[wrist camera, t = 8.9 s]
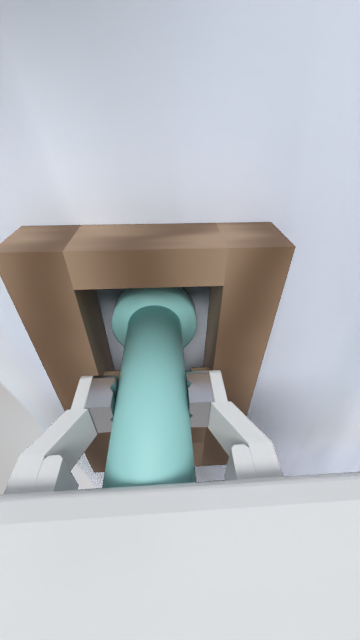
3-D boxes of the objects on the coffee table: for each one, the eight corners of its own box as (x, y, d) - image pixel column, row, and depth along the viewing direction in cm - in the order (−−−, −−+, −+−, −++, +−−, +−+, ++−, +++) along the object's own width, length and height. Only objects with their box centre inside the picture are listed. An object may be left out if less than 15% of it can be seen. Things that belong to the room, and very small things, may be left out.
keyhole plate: (271, 222, 13) (295, 246, 11) (225, 431, 25) (232, 464, 23) (21, 226, 12) (-11, 252, 10) (100, 438, 25) (94, 472, 23)
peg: (196, 278, 15) (248, 517, 6) (193, 342, 18) (224, 563, 9) (108, 280, 14) (28, 532, 6) (120, 344, 17) (79, 575, 9)
